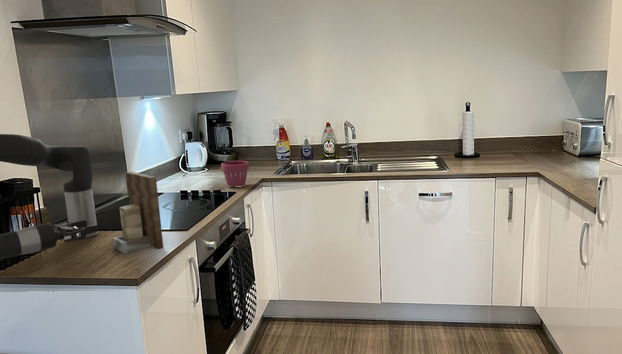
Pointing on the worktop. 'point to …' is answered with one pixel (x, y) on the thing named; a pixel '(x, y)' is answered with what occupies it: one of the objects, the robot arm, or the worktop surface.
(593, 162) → the worktop surface
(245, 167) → the plant pot
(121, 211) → the ridged beige block
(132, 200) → the upright wooden board
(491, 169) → the worktop surface
